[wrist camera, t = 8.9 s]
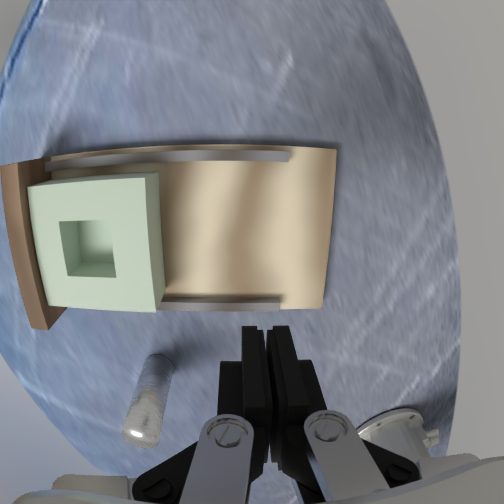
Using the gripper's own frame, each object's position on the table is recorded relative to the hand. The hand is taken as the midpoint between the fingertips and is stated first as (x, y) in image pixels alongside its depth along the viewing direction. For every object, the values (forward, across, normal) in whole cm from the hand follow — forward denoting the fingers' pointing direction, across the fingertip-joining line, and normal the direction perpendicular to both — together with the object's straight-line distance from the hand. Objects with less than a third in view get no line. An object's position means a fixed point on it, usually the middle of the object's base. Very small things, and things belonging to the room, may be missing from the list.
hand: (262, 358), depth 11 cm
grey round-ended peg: (+17, +9, +15) cm, 24 cm away
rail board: (+16, +6, 0) cm, 18 cm away
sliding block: (+15, +12, 0) cm, 19 cm away
